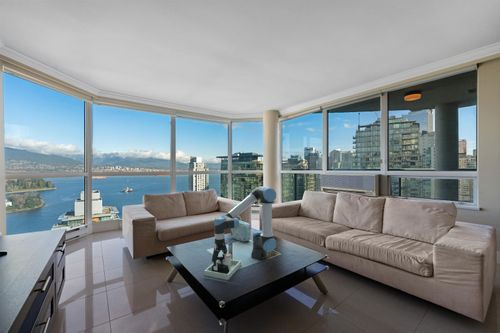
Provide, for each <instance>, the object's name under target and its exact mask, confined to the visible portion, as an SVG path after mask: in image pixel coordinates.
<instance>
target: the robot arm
mask: <svg viewBox="0 0 500 333" xmlns="http://www.w3.org/2000/svg"><path fill="white" fill-rule="evenodd" d="M276 199H277V192H276V190H275V189H274V188H272V187H270V186H264V185H263V186H262V185H261V186H258V187H256V188H254V189H252V191H251V192H249V195H247V196H246V197H245V198H244V199H243V200H242V201H240V202H239V203H238V204H236V206H234V207H233V208H232V209H230V210H229V211H228V212H227V213H226V214H222V215H221V216H220V217H219V216H218V217H216V218H215V219H214V223H213V224H214V244H215V245H216V246H214V247H213V251H212V257H211V262H213V263H214V270H217V258H218V257H219V254H220V253H221V252H222V255H223V254H224V258H225V259H223V262H226V254H228V248H227V245H226V244H227V243H226V240H225V238H226V237H225V234H226V233H225V230H231V229H233V228H238V227H239V218H237V217H239V216H240V215H241V214H242V213H244V211H246V209H248V208H249V207H250V206H251V205H253V204H254V203H255V202H256V203H257V202H258V201H259V202H260V205H261V230H255V231H253V232H252V251H251V253H250V257H251V258H252V259H253V260H258V261H263V260H266V259H267V258H268V257H269V254H268V253H270V252H273V251H275V249H276V247H277V241H276V239H275V234H274V233H273V204H274V203H275V200H276Z"/></svg>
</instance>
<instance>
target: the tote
mask: <svg viewBox="0 0 500 333" xmlns="http://www.w3.org/2000/svg"><path fill="white" fill-rule="evenodd" d="M217 263H220V264H221V261H220V260H217ZM223 264H224V262H223ZM212 265H214V262H213V263H212V264H210V265H209V266H208V267H207V268H205V269H204V271H203V272H204V273H203V274H204V277H206V278H208V277H209V278H211V279H214V280H215V279H216V280H217V279H218V280H219V281H222V280H223V281H224V282H227V281H229V280H230V278H232V276H233V275H234V274H235V273H236V272H237V271H238V270H239V269H240V267H241V266H242V260H237V259H232V258H231V267H229V273H228V274H224V273H218V272H213V271H211V269H212Z"/></svg>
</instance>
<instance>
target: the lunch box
mask: <svg viewBox="0 0 500 333" xmlns="http://www.w3.org/2000/svg"><path fill="white" fill-rule="evenodd" d="M238 220H239V219H238ZM251 230H252V229H251V224H250V223H249V222H246V221H242V220H239V227H238V228H233V229H230V235H231V238H232V239H234V240H235V241H240V242H244V243H245V242H248V241H251V236H252V234H251V233H252V232H251Z"/></svg>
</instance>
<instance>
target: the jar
mask: <svg viewBox="0 0 500 333" xmlns="http://www.w3.org/2000/svg"><path fill="white" fill-rule="evenodd" d="M232 257H233V256H232V254H231V253H227V254H226V262H224V265H228V268H229V267H231V259H232Z"/></svg>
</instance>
